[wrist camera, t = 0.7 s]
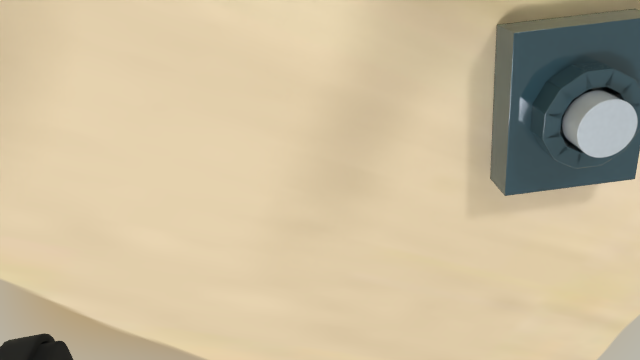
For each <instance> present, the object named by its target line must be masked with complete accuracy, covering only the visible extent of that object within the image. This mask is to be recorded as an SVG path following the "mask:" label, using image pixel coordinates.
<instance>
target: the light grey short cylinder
mask: <svg viewBox="0 0 640 360" xmlns="http://www.w3.org/2000/svg"><path fill="white" fill-rule="evenodd" d="M637 123H638V119H637V114H636V111H635V109H634V108H633V107H632V105H630V104H629V103H628V102H626V101H624V100H622V99H620V98H618V97H617V96H615V95H613V94H611V93H609V92H606V91H601V90H595V91H590V92H587V93H584V94H582V95H581V96H579V97H578V98H576V99H575V100H574V101H573V102H572V103H571V104H570V106H569V107H568V108H567V110H566V112H565V114H564V117H563V122H562V128H563V133H564V135H565V137H566V138H567V140H568V141H569V142H571V143H572V144H573V145H575V146H576V147H577V148H579V149H580V150H581V151H583V152H584V153H585V154H587V155H589V156H592V157H597V158H603V157H608V156H611V155H614V154H616V153H618V152H619V151H621V150H622V149H623V148H625V147H626V146H627V145H628V144H629V142H630V141H631V140H632V138H633V136H634V134H635V132H636V129H637Z"/></svg>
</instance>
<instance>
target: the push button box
mask: <svg viewBox="0 0 640 360" xmlns="http://www.w3.org/2000/svg"><path fill="white" fill-rule="evenodd" d="M595 90H601V91H606V92H609V93H611V94H613V95H615V96H617V97H618V98H620V99H622V100H624V101H626V102H628V103H629V104H630V105H632V107H633V108H634V109H635V111H636V114H637V119H638V123H637V129H636V132H635V134H634V136H633V138H632V140H631V141H630V142H629V144H628V145H627V146H626V147H625V148H623V149H622V150H621V151H619V152H618V153H616V154H614V155H611V156H608V157H603V158H597V157H592V156H589V155H587V154H585V153H584V152H583V151H581V150H580V149H579V148H577V147H576V146H575V145H573V144H572V143H571V142H569V141H568V140H567V138H566V137H565V135H564V133H563V128H562V122H563V117H564V114H565V112H566V110H567V108H568V107H569V106H570V104H571V103H572V102H573V101H574V100H575V99H576V98H578V97H579V96H581V95H582V94H584V93H587V92H590V91H595ZM639 151H640V10H638V9H629V10H620V11H611V12H603V13H594V14H585V15H577V16H568V17H559V18H551V19H542V20H533V21H525V22H516V23H507V24H499V25H497V33H496V57H495V81H494V105H493V128H492V152H491V176H490V179H491V180H492V181H493V182H494V184H495V185H496V186H497V187H498V188H499V189H500V191H501V192H502V193H503V194H504V195H505V196H507V195H515V194H523V193H530V192H538V191H546V190H554V189H561V188H569V187H577V186H585V185H592V184H600V183H608V182H615V181H623V180H631V179H635V175H636V169H637V163H638V157H639Z"/></svg>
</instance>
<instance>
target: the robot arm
mask: <svg viewBox="0 0 640 360" xmlns="http://www.w3.org/2000/svg"><path fill="white" fill-rule="evenodd" d="M0 360H73V358H72V356H71V354H70V352H69V349H68V347H67V346H66V344H65V343H64V342H63V341H54V339H53V337H52V336H50V335H49V334H39V335H34V336H29V337H23V338H18V339H13V340H8V341H6V342H4V344H3V345H2V346H1V347H0Z"/></svg>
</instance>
